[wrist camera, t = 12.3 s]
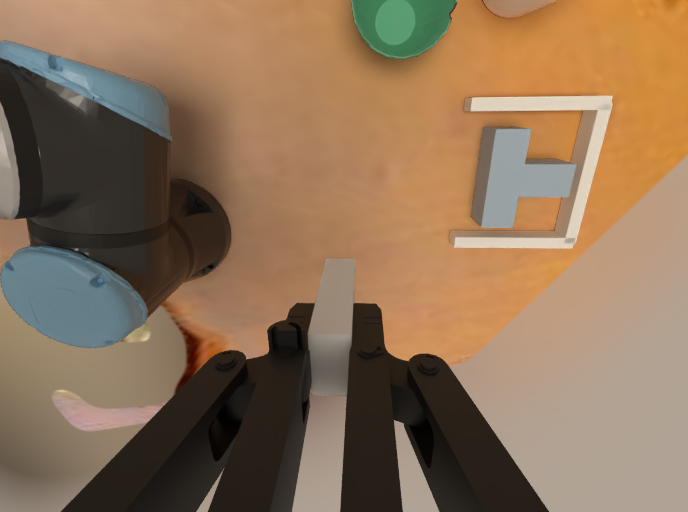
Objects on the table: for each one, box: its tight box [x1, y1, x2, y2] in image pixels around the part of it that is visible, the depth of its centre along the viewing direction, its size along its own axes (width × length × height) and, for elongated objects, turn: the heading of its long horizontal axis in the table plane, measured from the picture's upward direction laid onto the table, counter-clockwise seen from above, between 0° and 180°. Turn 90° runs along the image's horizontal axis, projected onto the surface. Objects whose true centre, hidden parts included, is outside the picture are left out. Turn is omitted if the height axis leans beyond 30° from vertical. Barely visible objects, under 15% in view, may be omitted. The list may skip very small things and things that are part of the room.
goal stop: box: [449, 96, 613, 248], centre depth 46 cm, size 16×19×3 cm
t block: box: [471, 127, 577, 228], centre depth 45 cm, size 10×12×5 cm
